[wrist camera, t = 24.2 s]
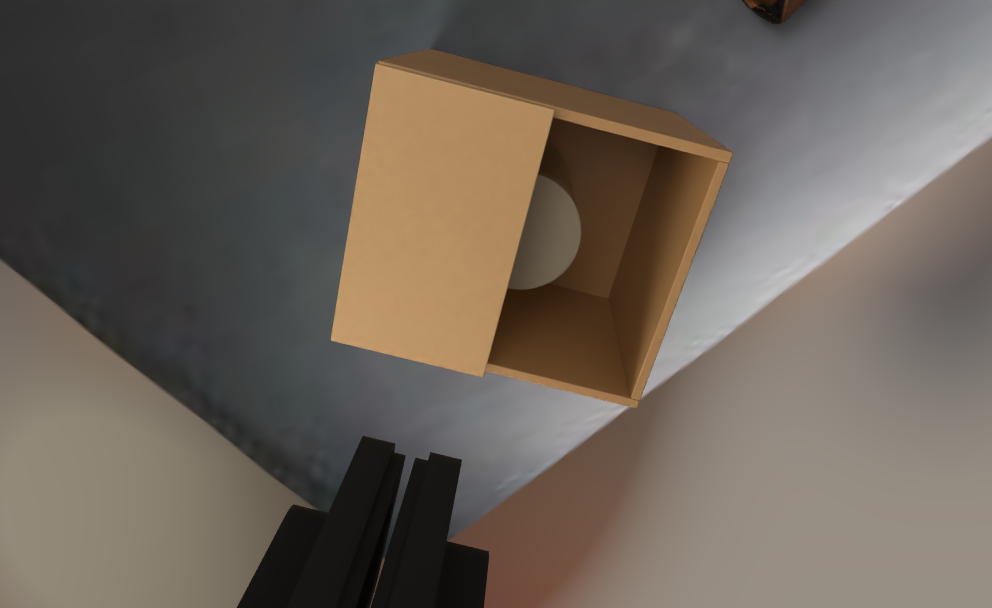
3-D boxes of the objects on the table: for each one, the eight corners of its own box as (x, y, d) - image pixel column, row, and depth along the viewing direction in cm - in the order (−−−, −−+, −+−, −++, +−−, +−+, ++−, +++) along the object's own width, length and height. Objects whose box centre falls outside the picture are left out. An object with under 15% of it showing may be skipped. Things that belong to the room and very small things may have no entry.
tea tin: (490, 125, 35) (473, 157, 27) (585, 149, 35) (597, 189, 27) (469, 217, 37) (447, 273, 28) (558, 239, 37) (562, 302, 29)
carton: (391, 248, 38) (333, 333, 28) (429, 48, 34) (378, 59, 24) (612, 303, 39) (636, 409, 28) (676, 112, 34) (734, 152, 24)
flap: (332, 337, 27) (330, 340, 27) (377, 62, 23) (375, 62, 23) (483, 373, 28) (483, 377, 27) (555, 108, 23) (555, 110, 23)
